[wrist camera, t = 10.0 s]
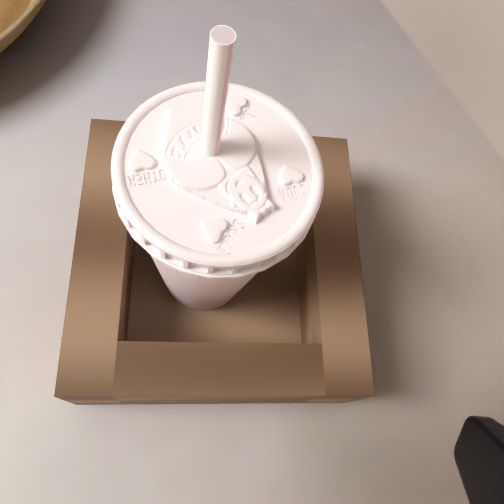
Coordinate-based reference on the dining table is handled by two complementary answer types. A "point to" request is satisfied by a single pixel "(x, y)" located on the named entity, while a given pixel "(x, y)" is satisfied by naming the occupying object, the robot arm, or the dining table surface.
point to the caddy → (214, 310)
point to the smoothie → (215, 181)
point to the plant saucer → (16, 18)
